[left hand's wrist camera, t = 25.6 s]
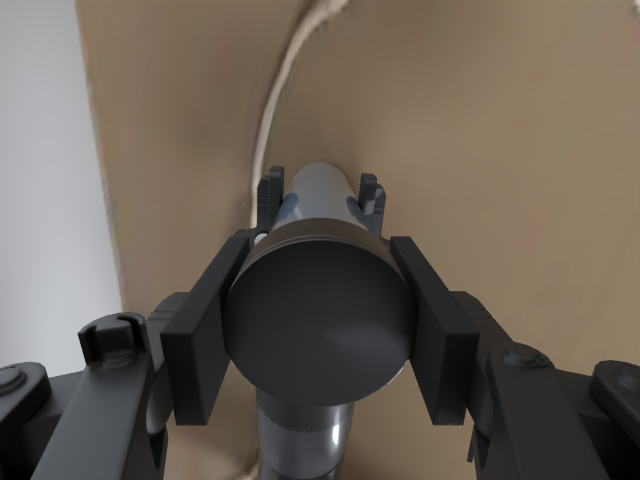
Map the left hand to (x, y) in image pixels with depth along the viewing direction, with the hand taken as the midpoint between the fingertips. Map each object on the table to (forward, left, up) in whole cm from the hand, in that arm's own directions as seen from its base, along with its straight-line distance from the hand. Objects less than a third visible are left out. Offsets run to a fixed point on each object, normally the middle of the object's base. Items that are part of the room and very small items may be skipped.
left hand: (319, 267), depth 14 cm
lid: (0, 0, +4) cm, 4 cm away
